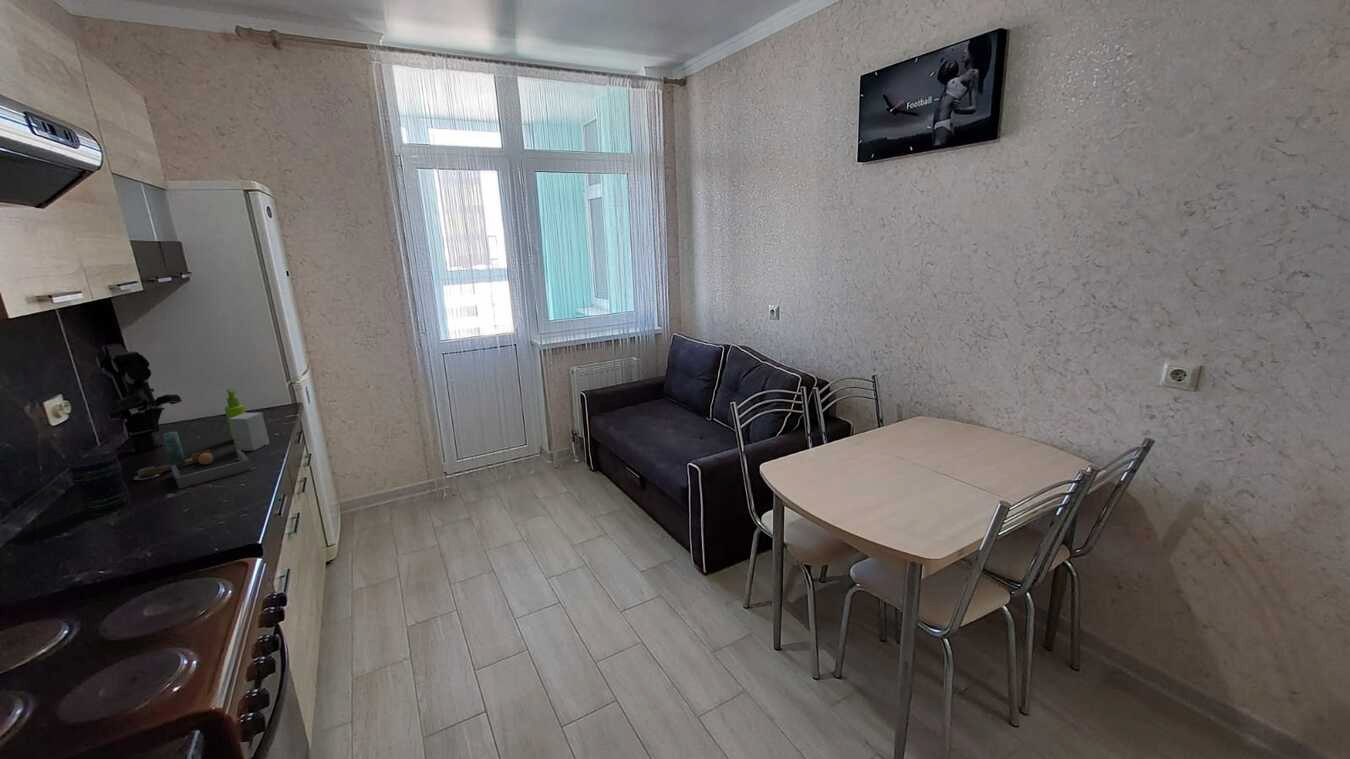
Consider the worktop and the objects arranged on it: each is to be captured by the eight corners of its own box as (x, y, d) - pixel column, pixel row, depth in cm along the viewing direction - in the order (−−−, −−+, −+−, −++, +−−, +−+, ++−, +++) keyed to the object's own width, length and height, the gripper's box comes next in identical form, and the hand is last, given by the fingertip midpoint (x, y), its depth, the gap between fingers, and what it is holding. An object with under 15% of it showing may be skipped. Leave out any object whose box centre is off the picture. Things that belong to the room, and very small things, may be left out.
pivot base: (137, 482, 173) (137, 481, 172) (130, 477, 176) (130, 477, 176) (166, 474, 178) (165, 473, 178) (158, 470, 182) (158, 469, 182)
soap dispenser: (236, 442, 205) (223, 392, 200) (230, 439, 209) (218, 390, 204) (254, 438, 210) (243, 389, 205) (249, 434, 214) (237, 386, 209)
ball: (204, 462, 188) (201, 451, 187) (217, 461, 188) (214, 450, 187) (196, 466, 184) (193, 455, 183) (209, 465, 184) (206, 455, 183)
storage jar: (100, 517, 151) (84, 468, 147) (74, 514, 153) (57, 465, 149) (140, 500, 160) (126, 454, 156) (115, 498, 162) (100, 452, 158)
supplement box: (270, 443, 204) (263, 412, 200) (253, 451, 197) (246, 418, 193) (252, 443, 204) (245, 412, 201) (235, 451, 197) (227, 418, 194)
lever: (141, 479, 174) (130, 444, 171) (137, 476, 177) (126, 442, 173) (214, 458, 190) (205, 426, 187) (209, 456, 192) (200, 424, 189)
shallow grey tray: (173, 475, 177) (170, 466, 176) (242, 458, 190) (240, 449, 189) (179, 488, 167) (176, 478, 166) (251, 469, 181) (249, 459, 180)
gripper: (87, 396, 176) (104, 441, 176) (150, 378, 180) (167, 422, 180) (115, 396, 187) (131, 439, 187) (174, 379, 190) (190, 420, 191)
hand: (154, 430), depth 186 cm, fingers closed
